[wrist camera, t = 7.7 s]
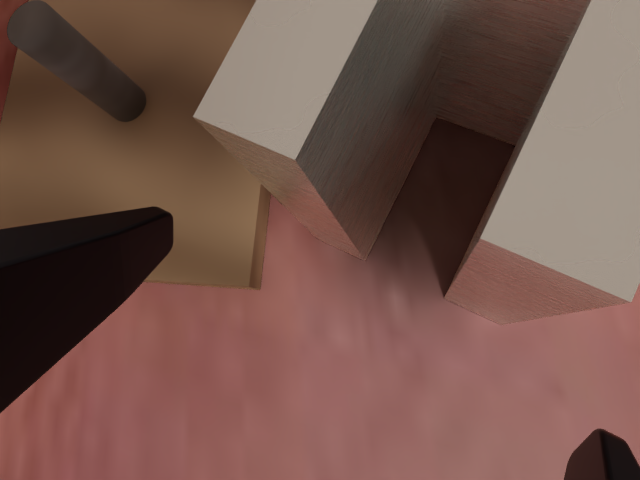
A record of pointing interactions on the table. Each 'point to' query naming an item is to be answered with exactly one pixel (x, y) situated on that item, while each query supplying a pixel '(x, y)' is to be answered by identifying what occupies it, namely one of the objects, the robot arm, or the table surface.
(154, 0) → the peg stand
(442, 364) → the table surface
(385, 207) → the c link
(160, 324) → the table surface
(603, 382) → the table surface
